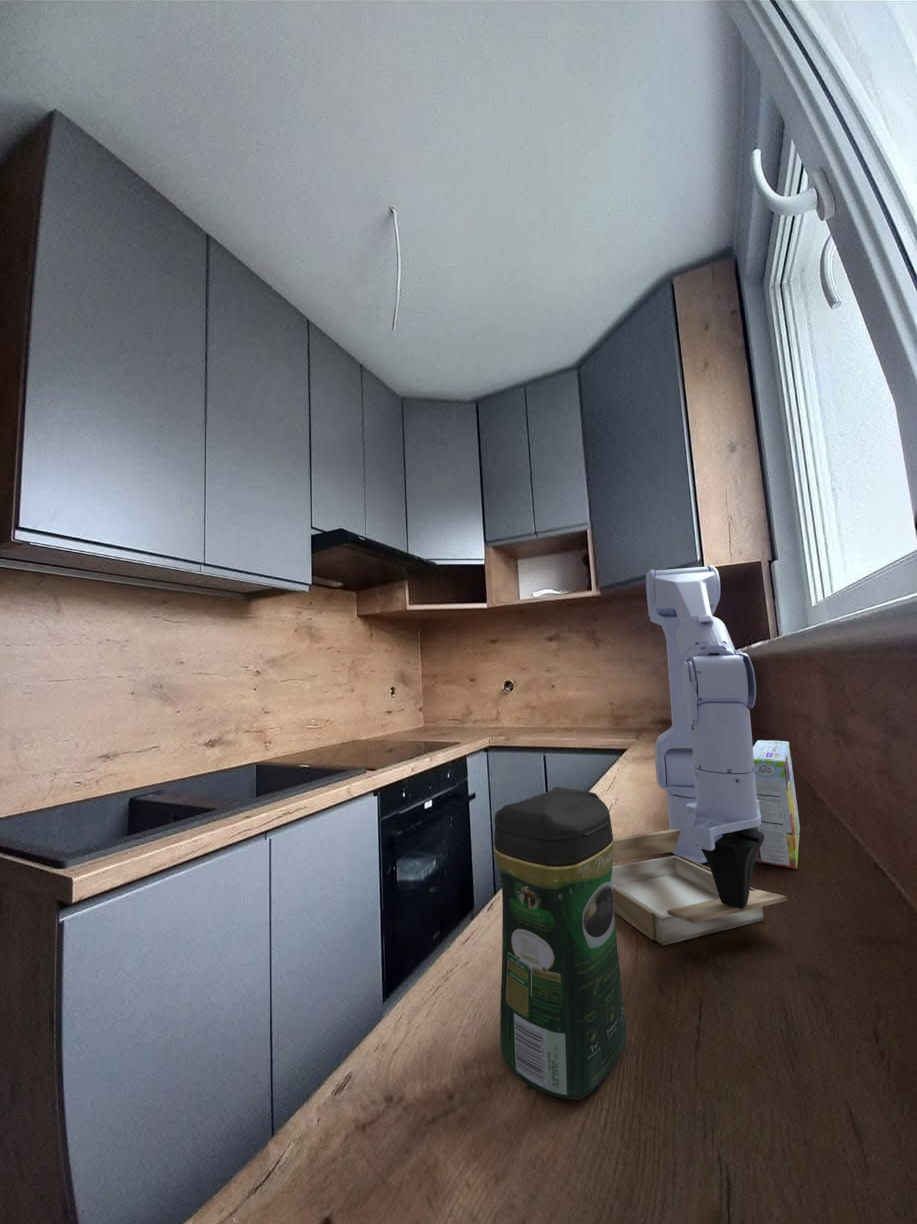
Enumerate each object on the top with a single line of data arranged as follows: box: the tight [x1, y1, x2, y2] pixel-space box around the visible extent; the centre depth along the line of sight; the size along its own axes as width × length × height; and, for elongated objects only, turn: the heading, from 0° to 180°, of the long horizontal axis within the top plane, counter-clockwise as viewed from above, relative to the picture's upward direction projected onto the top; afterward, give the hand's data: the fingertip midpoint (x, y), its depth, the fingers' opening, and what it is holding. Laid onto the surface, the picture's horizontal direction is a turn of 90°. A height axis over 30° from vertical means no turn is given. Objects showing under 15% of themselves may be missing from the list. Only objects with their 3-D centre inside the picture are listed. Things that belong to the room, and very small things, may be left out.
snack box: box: [752, 739, 801, 870], centre depth 78 cm, size 21×6×15 cm, turn 144°
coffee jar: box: [493, 786, 627, 1101], centre depth 37 cm, size 10×8×19 cm
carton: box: [612, 855, 764, 946], centre depth 58 cm, size 15×13×3 cm
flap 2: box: [667, 889, 788, 923], centre depth 51 cm, size 13×1×3 cm
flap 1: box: [613, 828, 681, 863], centre depth 64 cm, size 13×1×3 cm, turn 109°
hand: (733, 904), depth 50 cm, fingers closed, pressing on flap 2
